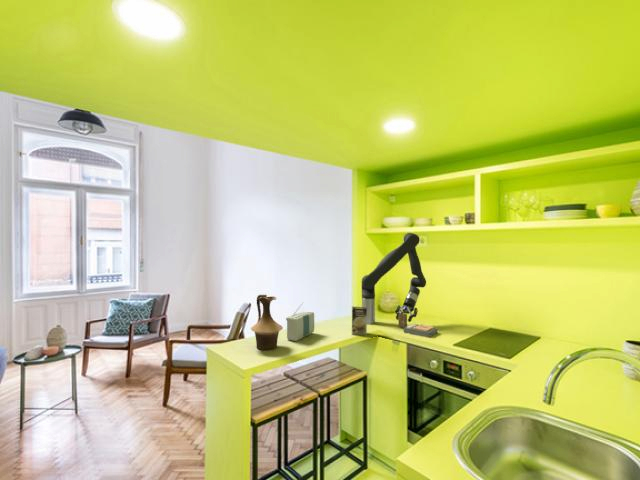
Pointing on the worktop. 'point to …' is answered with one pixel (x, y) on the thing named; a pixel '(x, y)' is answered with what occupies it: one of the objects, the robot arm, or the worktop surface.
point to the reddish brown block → (402, 320)
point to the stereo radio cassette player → (300, 325)
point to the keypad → (417, 332)
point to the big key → (423, 328)
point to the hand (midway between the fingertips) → (402, 320)
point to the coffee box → (359, 321)
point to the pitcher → (266, 325)
